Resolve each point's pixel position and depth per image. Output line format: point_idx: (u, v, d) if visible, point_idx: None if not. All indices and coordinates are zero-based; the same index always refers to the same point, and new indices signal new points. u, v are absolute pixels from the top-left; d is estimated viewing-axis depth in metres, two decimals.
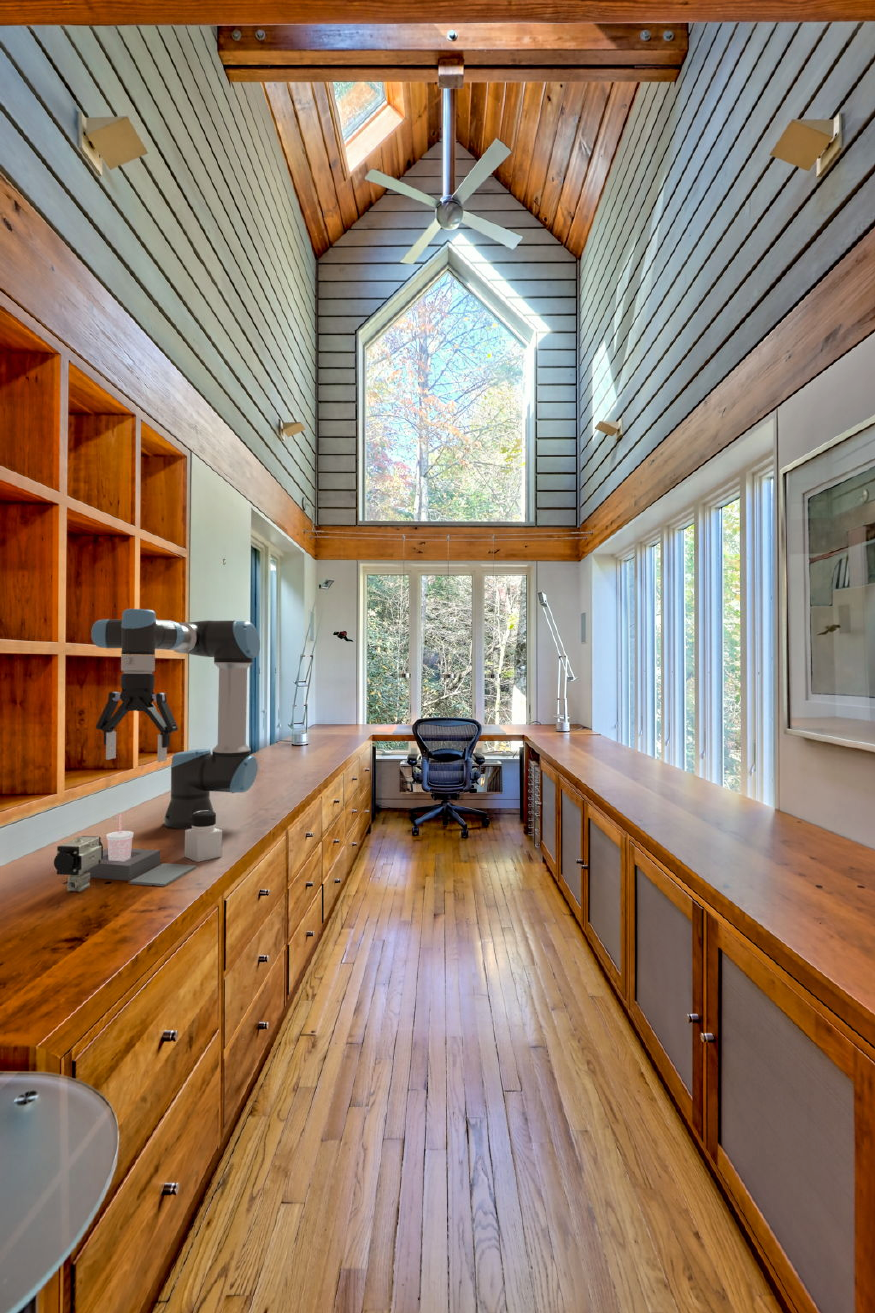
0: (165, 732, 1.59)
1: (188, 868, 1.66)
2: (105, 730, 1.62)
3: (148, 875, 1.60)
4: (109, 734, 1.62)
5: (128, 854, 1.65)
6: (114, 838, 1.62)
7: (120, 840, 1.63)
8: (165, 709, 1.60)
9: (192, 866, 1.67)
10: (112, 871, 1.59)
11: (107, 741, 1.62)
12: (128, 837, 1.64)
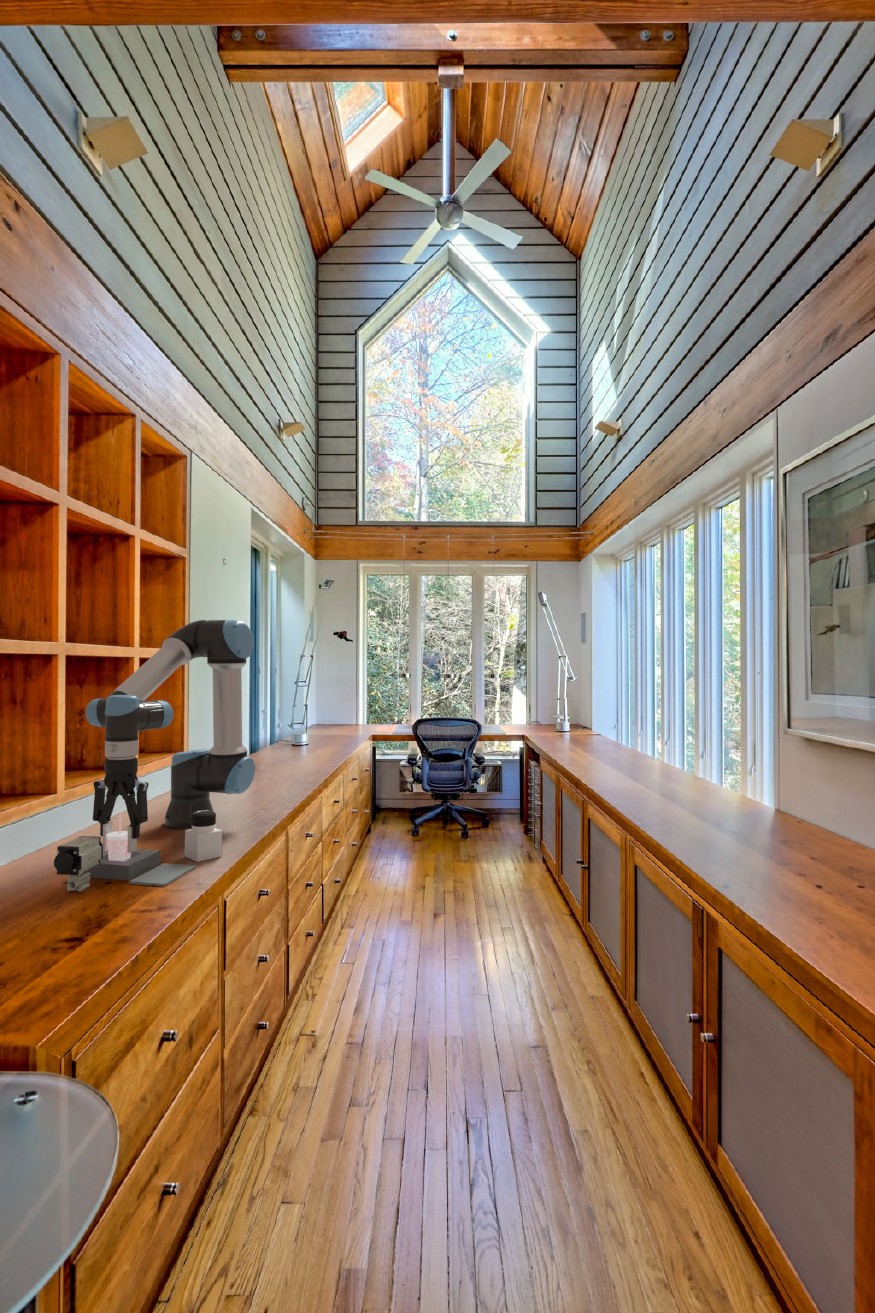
0: (134, 825, 1.64)
1: (188, 868, 1.66)
2: (102, 822, 1.65)
3: (148, 875, 1.60)
4: (105, 826, 1.65)
5: (128, 854, 1.65)
6: (114, 838, 1.62)
7: (120, 840, 1.63)
8: (142, 800, 1.64)
9: (192, 866, 1.67)
10: (112, 871, 1.59)
11: (104, 833, 1.65)
12: None
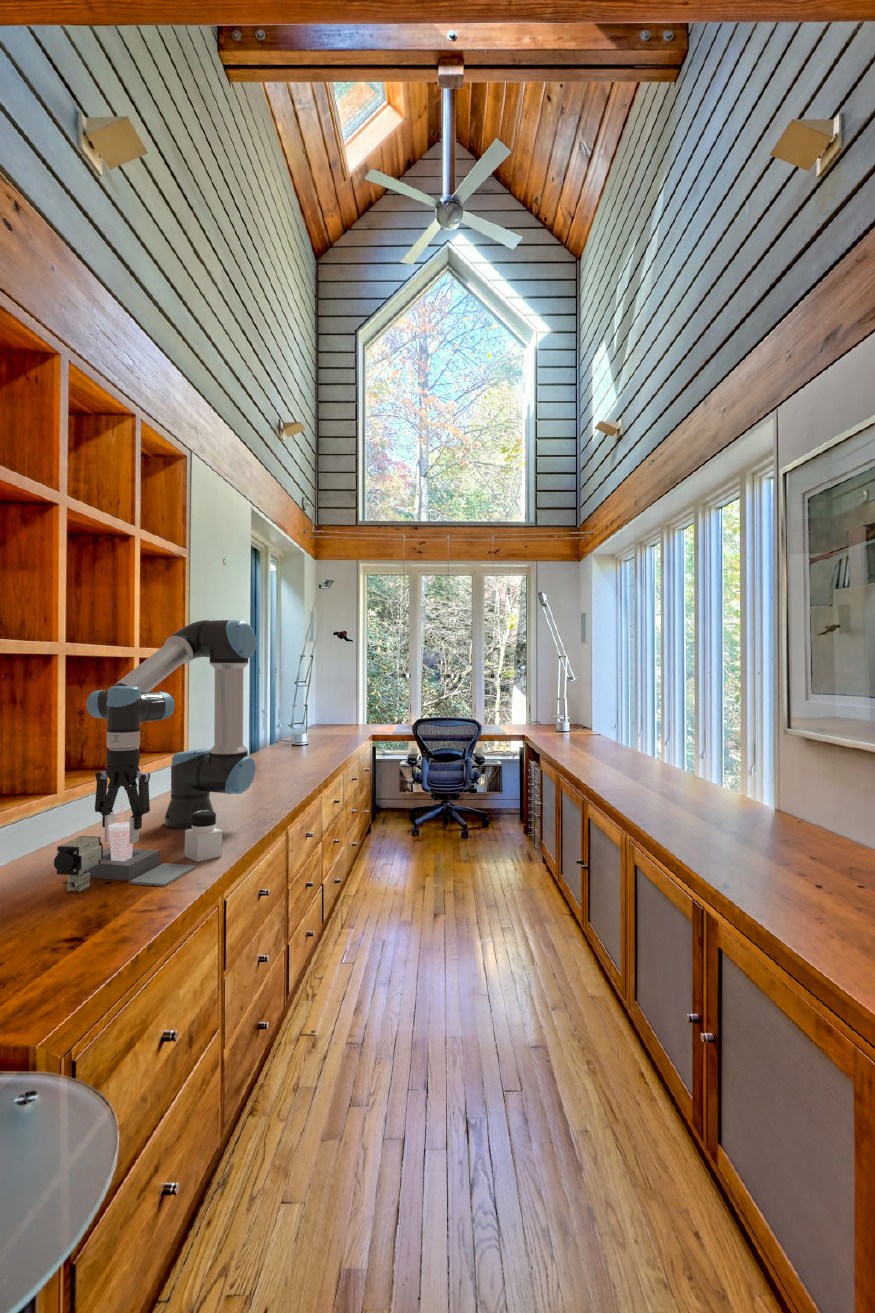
0: (136, 816, 1.64)
1: (188, 868, 1.66)
2: (104, 813, 1.65)
3: (148, 875, 1.60)
4: (108, 817, 1.65)
5: (130, 845, 1.65)
6: (116, 829, 1.62)
7: (122, 830, 1.63)
8: (144, 791, 1.64)
9: (192, 866, 1.67)
10: (112, 871, 1.59)
11: (106, 824, 1.65)
12: None
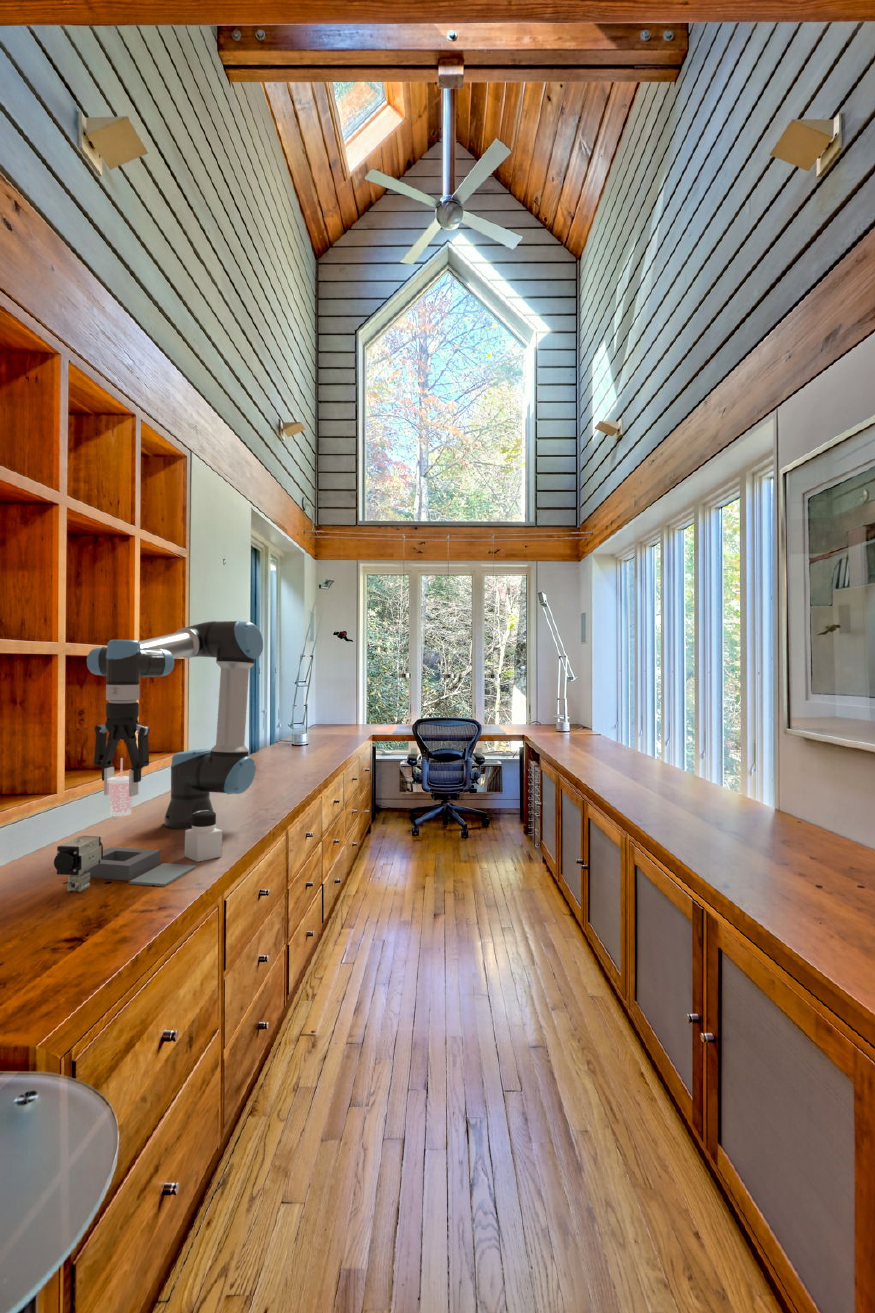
0: (136, 768, 1.64)
1: (188, 868, 1.66)
2: (103, 766, 1.65)
3: (148, 875, 1.60)
4: (107, 770, 1.65)
5: (129, 798, 1.65)
6: (115, 781, 1.63)
7: (121, 783, 1.63)
8: (143, 744, 1.64)
9: (192, 866, 1.67)
10: (112, 871, 1.59)
11: (105, 777, 1.65)
12: None
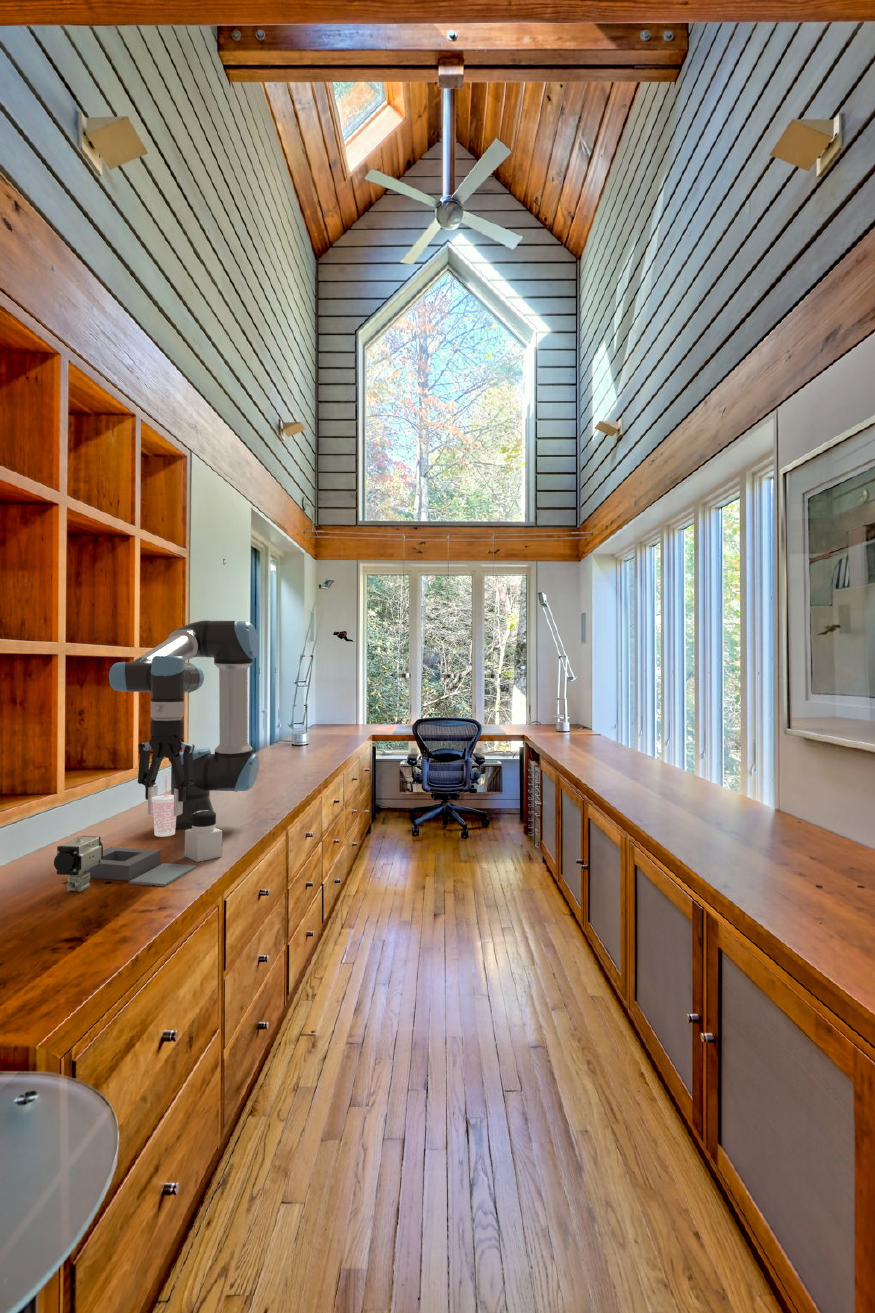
0: (181, 787, 1.60)
1: (188, 868, 1.66)
2: (147, 784, 1.61)
3: (148, 875, 1.60)
4: (151, 789, 1.61)
5: (174, 817, 1.61)
6: (160, 800, 1.59)
7: (166, 802, 1.59)
8: (189, 762, 1.60)
9: (192, 866, 1.67)
10: (112, 871, 1.59)
11: (149, 796, 1.61)
12: None
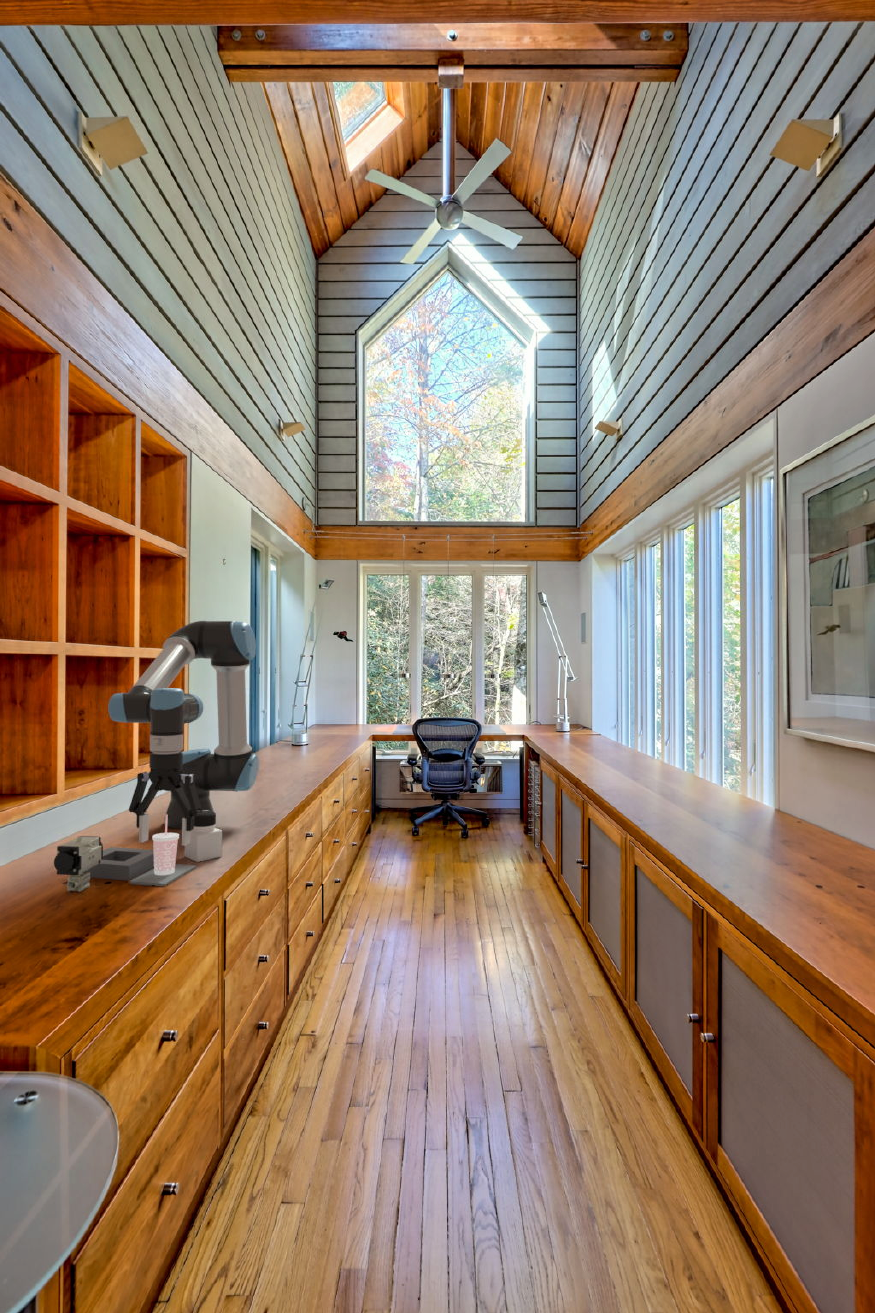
0: (189, 816, 1.60)
1: (188, 868, 1.66)
2: (138, 813, 1.62)
3: (148, 875, 1.60)
4: (142, 817, 1.62)
5: (174, 856, 1.62)
6: (161, 839, 1.59)
7: (166, 841, 1.60)
8: (192, 792, 1.60)
9: (192, 866, 1.67)
10: (112, 871, 1.59)
11: (140, 824, 1.61)
12: (174, 838, 1.61)
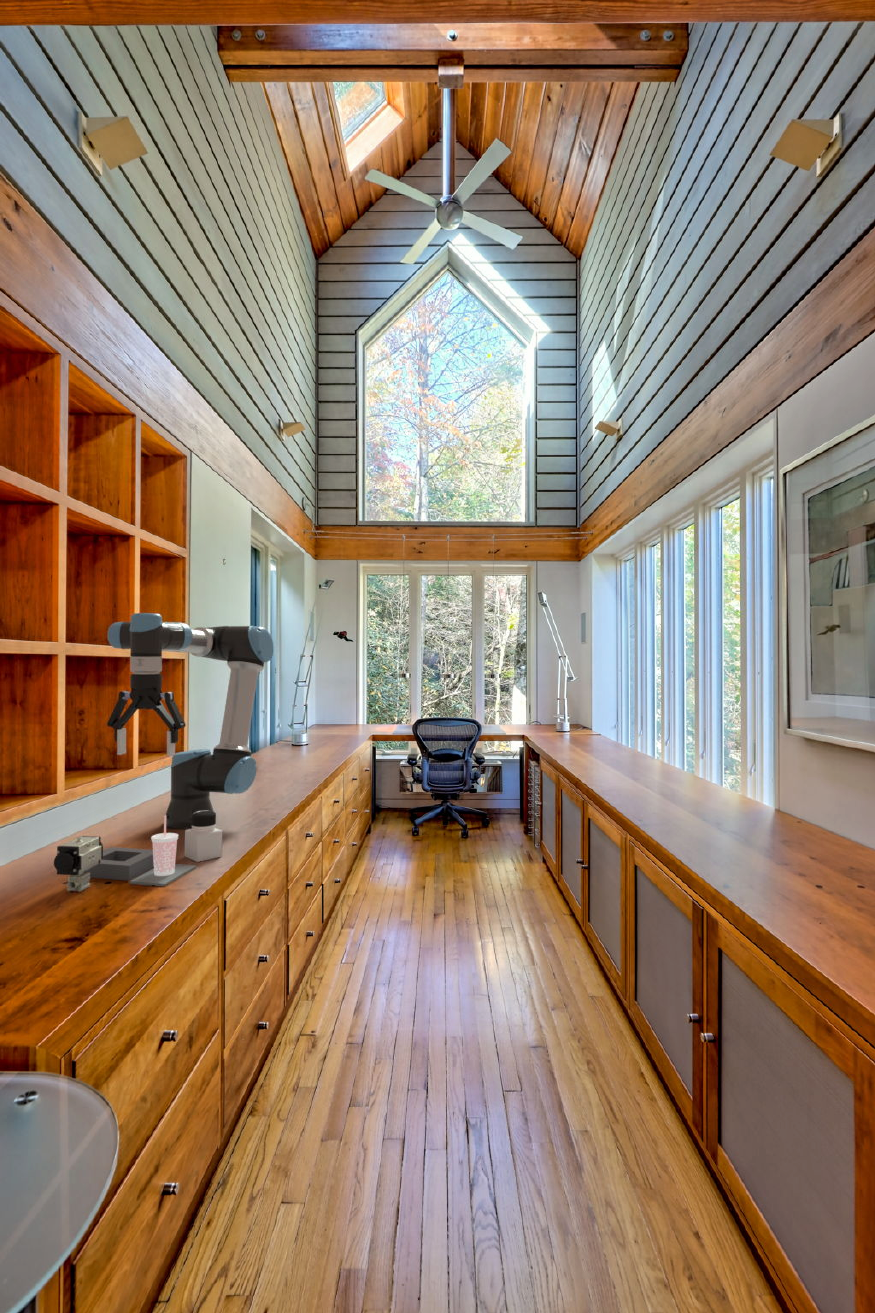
0: (174, 729, 1.70)
1: (188, 868, 1.66)
2: (116, 727, 1.72)
3: (148, 875, 1.60)
4: (120, 731, 1.72)
5: (173, 856, 1.61)
6: (160, 840, 1.59)
7: (165, 842, 1.59)
8: (173, 707, 1.71)
9: (192, 866, 1.67)
10: (112, 871, 1.59)
11: (118, 738, 1.72)
12: (173, 839, 1.61)
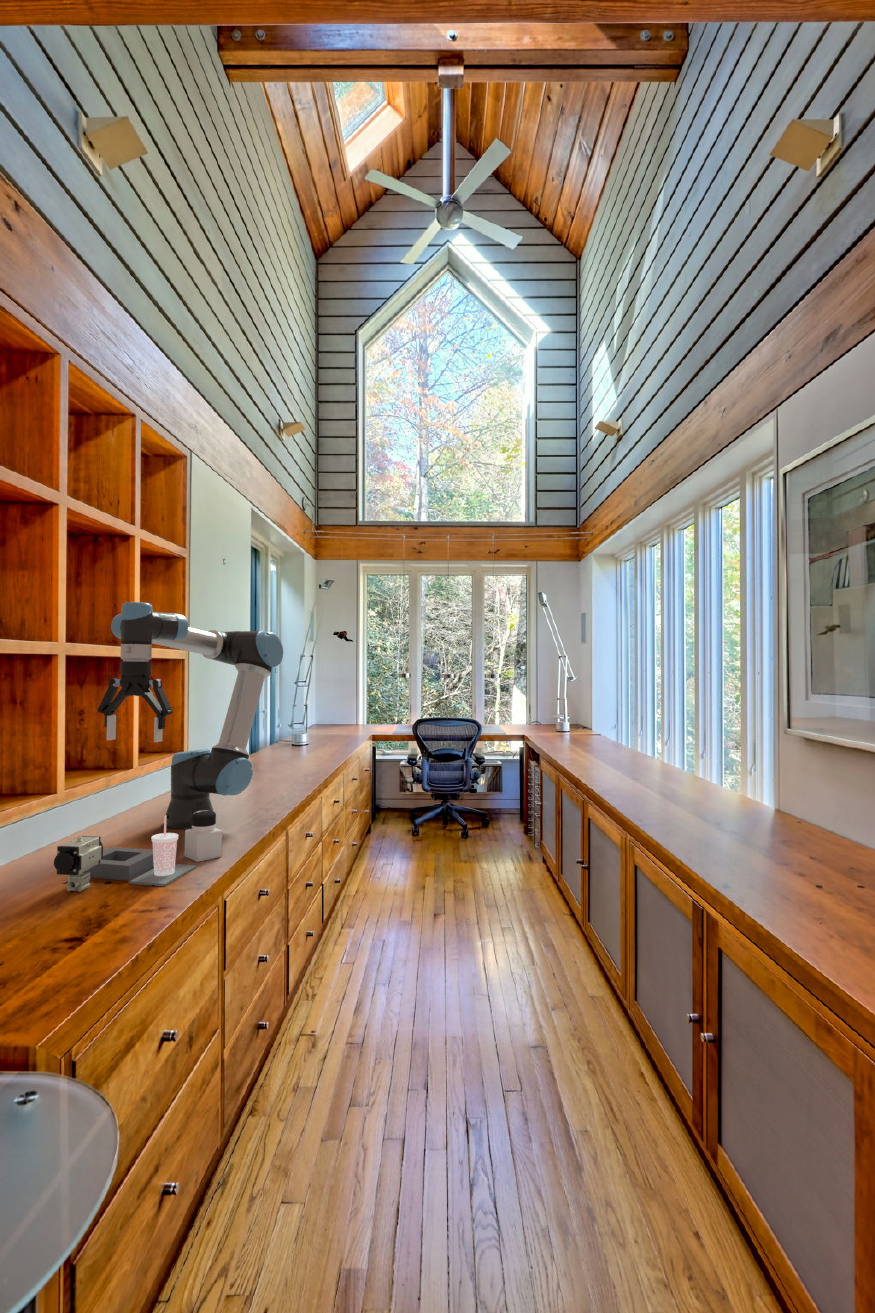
0: (161, 715, 1.74)
1: (188, 868, 1.66)
2: (106, 713, 1.76)
3: (148, 875, 1.60)
4: (109, 717, 1.76)
5: (173, 857, 1.61)
6: (160, 840, 1.59)
7: (166, 842, 1.59)
8: (161, 694, 1.75)
9: (192, 866, 1.67)
10: (112, 871, 1.59)
11: (108, 723, 1.76)
12: (174, 839, 1.61)
